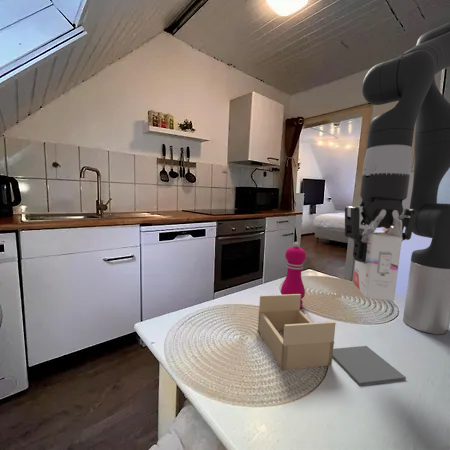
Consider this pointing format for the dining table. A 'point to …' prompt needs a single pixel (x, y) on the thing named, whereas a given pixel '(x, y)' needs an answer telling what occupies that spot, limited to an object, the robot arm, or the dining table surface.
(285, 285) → the pepper mill
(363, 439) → the dining table surface
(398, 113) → the robot arm
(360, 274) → the ink cartridge box
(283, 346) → the carton
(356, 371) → the mat
